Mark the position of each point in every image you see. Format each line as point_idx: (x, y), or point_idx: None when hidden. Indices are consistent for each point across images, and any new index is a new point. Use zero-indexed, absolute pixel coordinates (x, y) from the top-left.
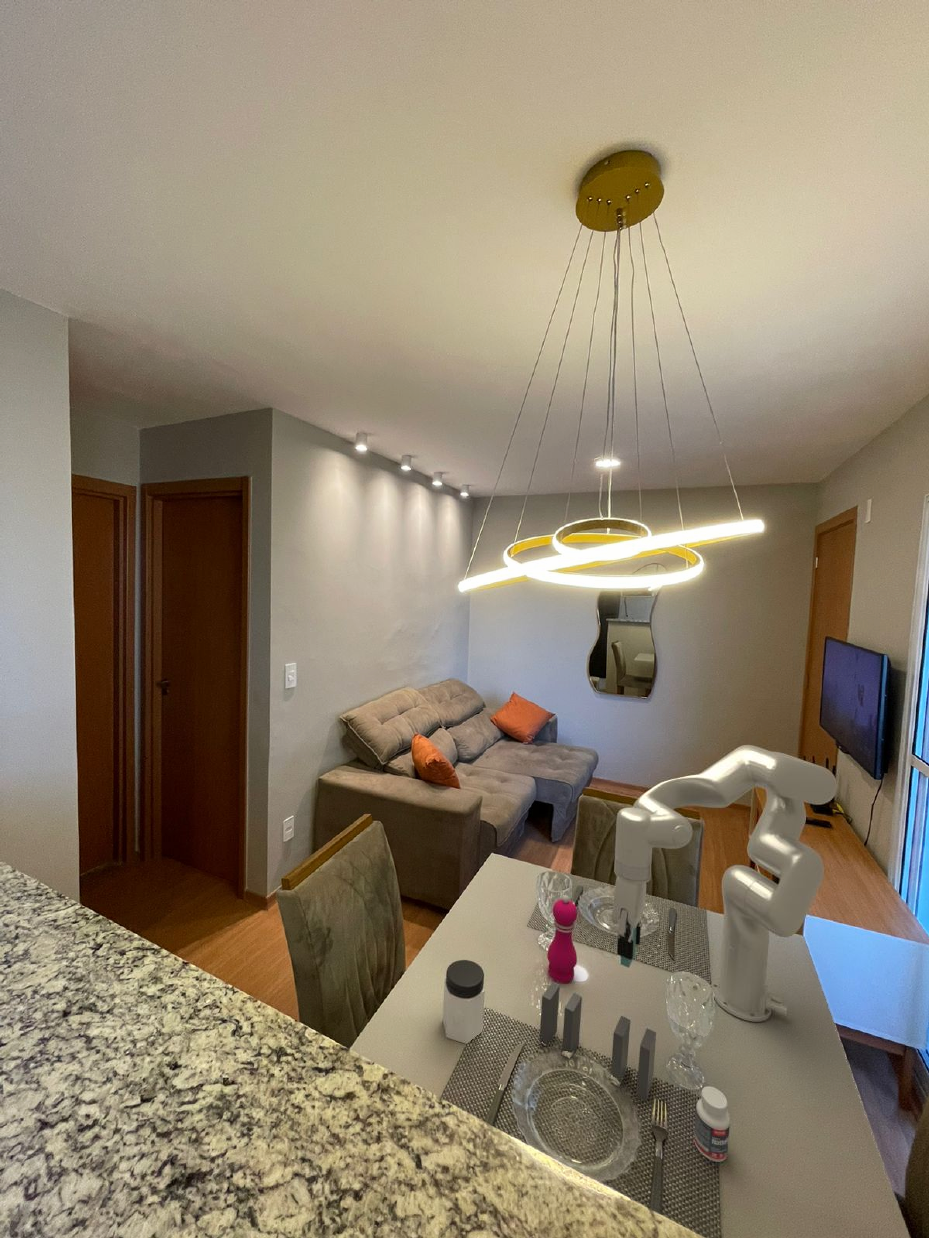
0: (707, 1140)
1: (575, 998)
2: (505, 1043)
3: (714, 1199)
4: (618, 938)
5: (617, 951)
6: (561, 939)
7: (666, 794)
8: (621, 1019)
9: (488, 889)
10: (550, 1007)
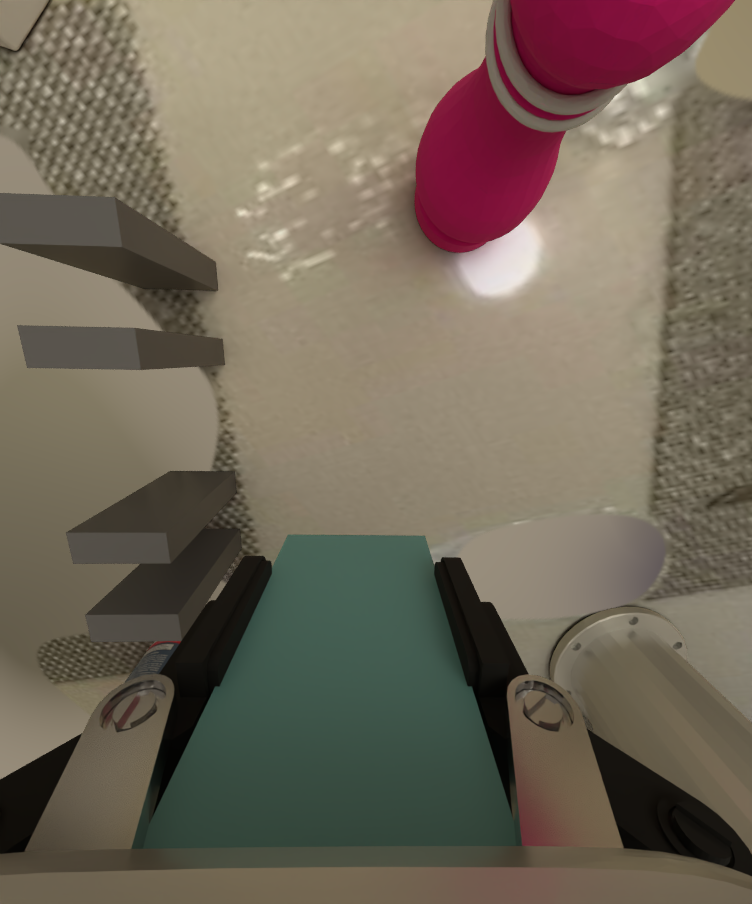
0: None
1: (107, 348)
2: (52, 159)
3: (89, 672)
4: (191, 647)
5: (239, 565)
6: (478, 98)
7: None
8: (149, 537)
9: None
10: (48, 256)
